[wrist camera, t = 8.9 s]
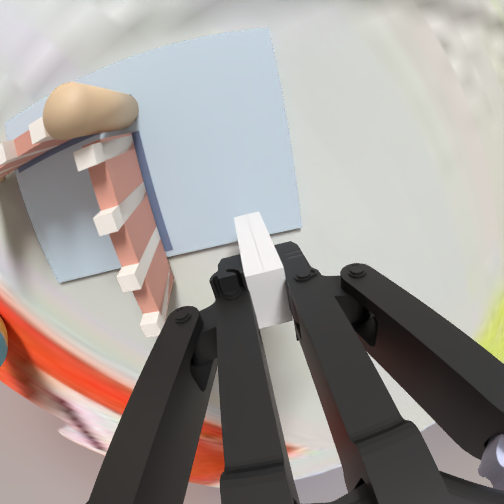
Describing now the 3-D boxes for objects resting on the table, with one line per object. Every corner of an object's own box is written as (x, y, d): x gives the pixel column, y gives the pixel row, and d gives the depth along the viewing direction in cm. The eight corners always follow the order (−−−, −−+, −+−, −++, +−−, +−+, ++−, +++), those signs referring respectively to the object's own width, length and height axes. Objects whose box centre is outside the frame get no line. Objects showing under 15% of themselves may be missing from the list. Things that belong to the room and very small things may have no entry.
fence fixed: (136, 88, 14) (85, 72, 7) (143, 122, 15) (96, 127, 8) (-8, 163, 13) (-70, 191, 7) (-1, 189, 15) (-60, 225, 8)
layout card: (60, 281, 19) (58, 283, 19) (6, 123, 12) (3, 123, 12) (301, 225, 20) (302, 227, 19) (267, 28, 13) (268, 26, 13)
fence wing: (116, 137, 15) (72, 148, 9) (131, 132, 15) (91, 141, 9) (161, 280, 19) (146, 338, 14) (173, 277, 19) (162, 335, 14)
